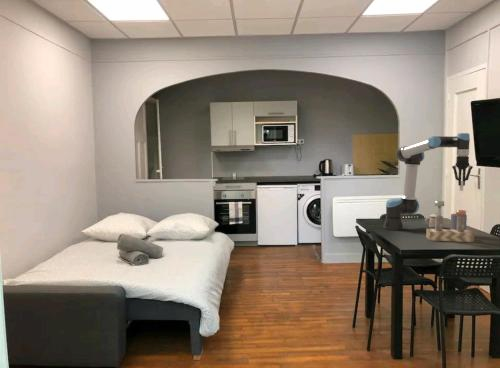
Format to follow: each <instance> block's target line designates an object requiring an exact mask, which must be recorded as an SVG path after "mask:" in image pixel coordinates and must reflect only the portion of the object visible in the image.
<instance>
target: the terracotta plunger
mask: <svg viewBox="0 0 500 368" xmlns="http://www.w3.org/2000/svg"><path fill="white" fill-rule="evenodd" d="M455 214H456V215H459V217H463V216H465V215H467V210H463V209H456V210H455Z"/></svg>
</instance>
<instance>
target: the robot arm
mask: <svg viewBox="0 0 500 368" xmlns="http://www.w3.org/2000/svg"><path fill="white" fill-rule="evenodd" d="M470 135H471V134H470V133H467V132H461V133H460V132H459V133H457V134H456V136H448V135H447V136H443V135H442V136H440V135H439V136H437V135H434V136H433V135H432V136H429V138H428V139H426V140H422V141H420V142H417V143H414V144H411V145H408V146H407V145H404V146H401V147H399V148H397V150H396V152H395V156H396V158H397V160H398V161H400V162H403V163H404V165H405V166H406V167H405V176H404V185H403V186H404V187H403V195H401V197H400V198H390V199H388V200H387V201H386V202H385V203H386V204H385V210H386V211H385V221H384V222H383V229H385V230H392V231H401V230H404V229H405V227H404V223H403V220H402V218H403V217H402V216H403V215H415V214H417V212H418V211H419V208H420V203H419V201H418V200H417V199H418V198H417V197H416V190H417V189H416V187H417V179H418V168H419V166H420V165H421V162H423V161H424V159H425V152H427V151H430V150H434V149H437V148H438V149H439V148H456V162H455V164H454V165H452V166H451V168H452V169H453V174H454V178H455V180H456V181H458V182H457V183H458V186H459V191H462V192H463V191H464V186H466V181H469V179H470V175H471V171H472V169H473V168H474V166H473V165H470V163H469V162H470V160H469V159H470V157H469V155H470V143H471V142H470V140H471V138H470ZM457 169H458V171H457ZM466 171H467V173H466Z"/></svg>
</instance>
